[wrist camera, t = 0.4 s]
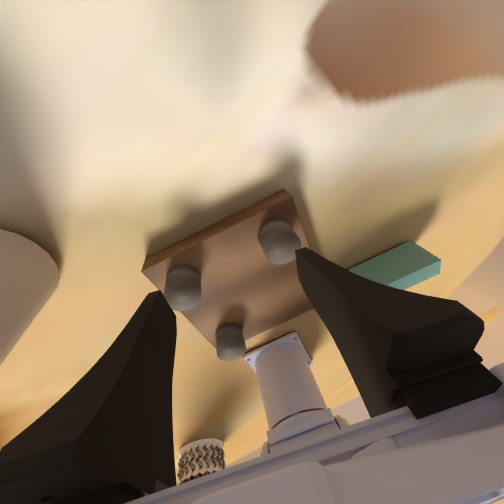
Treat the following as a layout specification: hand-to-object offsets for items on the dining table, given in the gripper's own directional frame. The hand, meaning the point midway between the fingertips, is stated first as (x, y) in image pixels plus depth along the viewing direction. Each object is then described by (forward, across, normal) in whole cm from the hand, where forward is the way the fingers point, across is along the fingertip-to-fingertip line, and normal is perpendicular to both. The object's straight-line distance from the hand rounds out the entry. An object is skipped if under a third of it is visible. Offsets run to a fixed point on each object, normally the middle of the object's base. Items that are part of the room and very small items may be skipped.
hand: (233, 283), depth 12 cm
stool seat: (+10, -1, +8) cm, 13 cm away
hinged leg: (+10, -15, +12) cm, 21 cm away
